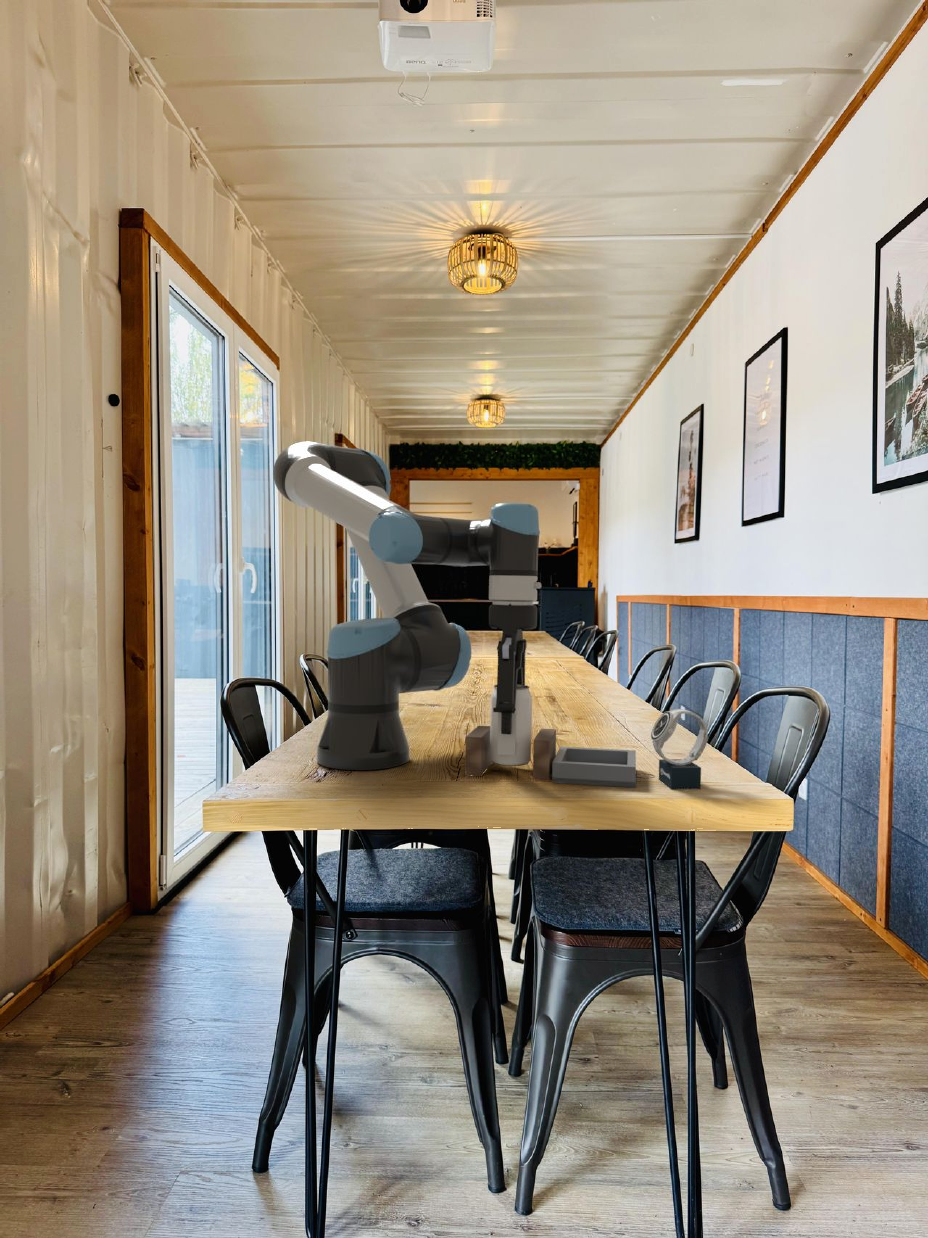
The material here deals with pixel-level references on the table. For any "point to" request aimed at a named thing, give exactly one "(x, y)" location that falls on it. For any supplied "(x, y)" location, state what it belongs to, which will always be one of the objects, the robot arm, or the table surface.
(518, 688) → the can
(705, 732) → the watch
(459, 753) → the table surface
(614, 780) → the tray
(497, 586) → the robot arm
